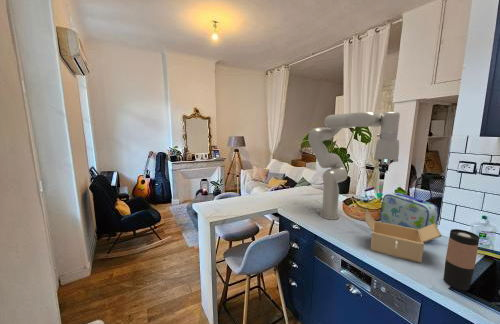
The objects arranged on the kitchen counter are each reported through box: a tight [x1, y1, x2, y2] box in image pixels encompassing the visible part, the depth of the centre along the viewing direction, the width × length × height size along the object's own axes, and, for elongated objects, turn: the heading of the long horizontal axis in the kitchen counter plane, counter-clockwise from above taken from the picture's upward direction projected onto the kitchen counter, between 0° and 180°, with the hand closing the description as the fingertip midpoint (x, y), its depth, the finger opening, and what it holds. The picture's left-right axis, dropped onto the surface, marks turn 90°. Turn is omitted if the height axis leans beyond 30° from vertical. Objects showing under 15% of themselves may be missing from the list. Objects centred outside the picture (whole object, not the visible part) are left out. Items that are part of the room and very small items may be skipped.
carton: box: [369, 220, 425, 264], centre depth 102 cm, size 19×18×9 cm
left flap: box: [363, 208, 375, 232], centre depth 108 cm, size 7×13×1 cm
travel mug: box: [443, 228, 480, 291], centre depth 79 cm, size 8×8×20 cm
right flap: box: [419, 223, 442, 243], centre depth 96 cm, size 7×13×1 cm
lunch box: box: [379, 192, 440, 230], centre depth 119 cm, size 26×11×21 cm, turn 21°
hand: (384, 171), depth 112 cm, fingers closed
